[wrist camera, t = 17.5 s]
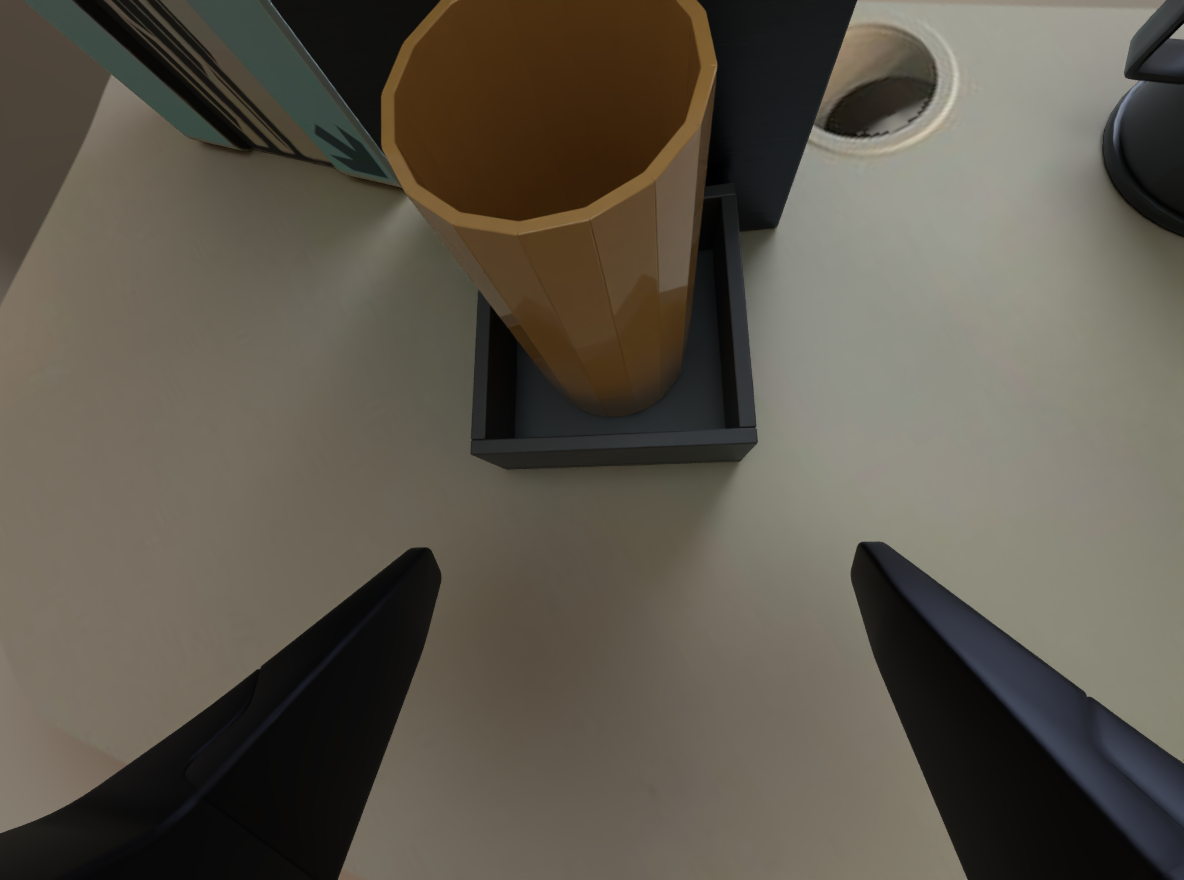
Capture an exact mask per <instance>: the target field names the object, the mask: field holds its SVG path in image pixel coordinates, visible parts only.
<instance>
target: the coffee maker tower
mask: <svg viewBox="0 0 1184 880" xmlns="http://www.w3.org/2000/svg"><path fill="white" fill-rule="evenodd" d="M440 1H441V0H270V2H271V3H272V4H273V6H274V7H275V8H276V10H277V11H278V12H279V14H280V15H281V17H282V18H283V19H284V21H285V22H286V23H287V25H288V26H289V27H290V29H291V30H292V31H293V33H294V34H295V35H296V37H297V38H298V39H299V41H300V42H301V44H302V45H303V46H304V48H305V49H306V50H307V52H308V53H309V54H310V56H311V57H312V58H313V60H314V61H315V62H316V64H317V65H318V66H319V68H320V69H321V71H322V72H323V73H324V75H325V76H326V77H327V79H328V80H329V81H330V83H331V84H332V85H333V87H334V88H335V89H336V91H337V92H338V93H339V95H340V96H341V98H342V99H343V100H344V102H345V103H346V104H347V106H348V107H349V108H350V110H351V111H352V112H353V114H354V115H355V116H356V118H357V119H358V120H359V122H360V123H361V125H362V126H363V127H364V129H365V130H366V131H367V133H368V134H369V135H370V137H371V138H372V139H373V141H374V142H375V143H376V145H377V146H378V147H379V149H380V150H381V152H382V153H383V154H384V152H383V150H382V146H381V95H382V91H383V89H384V87H385V84H386V82H387V79H388V77H389V75H390V72H391V70H392V68H393V65H394V63H395V60H396V58H397V56H398V53H399V51H400V49H401V46H402V44H403V43H404V41H405V40H406V39H407V38H408V37H409V35H410V34H411V33H412V32H413V31H414V30H415V29H416V28H417V26H418V25H419V24H420V23H421V22H422V21H423V20H424V19H425V17H426V16H427V15H428V14H429V13H430V12H431V11H432V10H433V8H434V7H435V6H436V5H437V4H438V3H439V2H440ZM697 1H698V2H699V3H700V4H701V5H702V6H703V8H704V9H705V11H706V13H707V18H708V22H709V27H710V32H711V36H712V41H713V46H714V50H715V55H716V60H717V64H718V65H717V77H716V86H715V96H714V105H713V114H712V124H711V133H710V142H709V152H708V161H707V171H706V180H705V186H711V185H719V184H727V183H735V188H736V198H737V210H738V221H739V231H744V230H753V229H762V228H772V227H777V226H778V223H779V220H780V217H781V215H782V212H783V209H784V206H785V203H786V200H787V198H788V195H789V192H790V189H791V186H792V183H793V181H794V178H795V175H796V172H797V169H798V166H799V164H800V161H801V158H802V155H803V152H804V149H805V147H806V144H807V141H808V138H809V135H810V133H811V130H812V127H813V124H814V121H815V118H816V116H817V113H818V110H819V107H820V104H821V101H822V99H823V96H824V93H825V90H826V87H827V84H828V82H829V79H830V76H831V73H832V70H833V67H834V65H835V62H836V59H837V56H838V53H839V50H840V48H841V45H842V42H843V39H844V36H845V34H846V31H847V28H848V25H849V22H850V19H851V17H852V14H853V11H854V8H855V5H856V2H857V0H697ZM384 156H385V154H384ZM385 157H386V156H385ZM386 158H387V157H386ZM387 160H388V159H387Z"/></svg>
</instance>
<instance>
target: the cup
mask: <svg viewBox="0 0 1184 880" xmlns="http://www.w3.org/2000/svg"><path fill="white" fill-rule="evenodd" d="M717 65H718V64H717V60H716V55H715V50H714V46H713V41H712V36H711V32H710V27H709V22H708V18H707V13H706V11H705V9H704V8H703V6H702V5H701V4H700V3H699V2H698V1H697V0H441V1H440V2H439V3H438V4H437V5H436V6H435V7H434V8H433V10H432V11H431V12H430V13H429V14H428V15H427V16H426V17H425V19H424V20H423V21H422V22H421V23H420V24H419V25H418V26H417V28H416V29H415V30H414V31H413V32H412V33H411V34H410V35H409V37H408V38H407V39H406V40H405V41H404V43H403V44H402V46H401V49H400V51H399V53H398V56H397V58H396V60H395V63H394V65H393V68H392V70H391V72H390V75H389V77H388V79H387V82H386V84H385V87H384V89H383V91H382V95H381V146H382V150H383V152H384V154H385V156H386V157H387V159H388V161H389V163H390V165H391V167H392V169H393V171H394V173H395V175H396V177H397V178H398V180H399V182H400V184H401V186H402V188H403V190H404V192H405V193H406V195H407V196H408V197H409V199H410V200H411V201H412V203H413V204H414V205H415V207H416V208H417V209H418V211H419V212H420V213H421V214H422V216H423V217H424V218H425V220H426V221H427V222H428V224H429V225H430V226H431V228H432V229H433V230H434V232H435V233H436V234H437V236H438V237H439V238H440V239H441V241H442V242H443V243H444V245H445V246H446V247H447V249H448V250H449V251H450V253H451V254H452V255H453V257H454V258H455V259H456V260H457V262H458V263H459V264H460V266H461V267H462V268H463V270H464V271H465V272H466V274H467V275H468V276H469V278H470V279H471V280H472V281H473V283H474V284H475V285H476V287H477V288H478V289H479V291H480V292H481V293H482V295H483V296H484V297H485V299H486V300H487V301H488V302H489V304H490V305H491V306H492V308H493V309H494V310H495V312H496V313H497V314H498V316H499V317H500V318H501V320H502V321H503V322H504V324H505V325H506V326H507V327H508V329H509V330H510V331H511V333H512V334H513V335H514V337H515V338H516V339H517V341H518V342H519V343H520V345H521V346H522V347H523V348H524V350H525V351H526V352H527V354H528V355H529V356H530V358H531V359H532V360H533V362H534V363H535V364H536V366H537V367H538V368H539V369H540V371H541V372H542V373H543V375H544V376H545V377H546V379H547V380H548V381H549V383H550V384H551V385H552V387H553V388H554V389H555V390H556V392H557V393H558V394H559V395H560V396H562V397H563V398H564V399H565V400H566V401H567V402H569V403H570V404H571V405H573V406H574V407H576V408H577V409H579V410H582V411H584V412H586V413H589V414H592V415H596V416H602V417H622V416H627V415H632V414H635V413H638V412H641V411H643V410H645V409H647V408H649V407H651V406H652V405H654V404H655V403H657V402H658V401H659V400H660V399H661V398H663V397H664V396H665V395H666V394H667V393H668V392H669V390H670V389H671V388H672V387H673V385H674V384H675V382H676V381H677V379H678V377H679V375H680V374H681V371H682V368H683V365H684V360H685V355H686V352H687V348H688V339H689V330H690V320H691V311H692V302H693V292H694V283H695V274H696V264H697V255H698V245H699V236H700V227H701V217H702V208H703V199H704V189H705V180H706V171H707V161H708V152H709V142H710V133H711V124H712V114H713V105H714V96H715V86H716V77H717Z"/></svg>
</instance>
